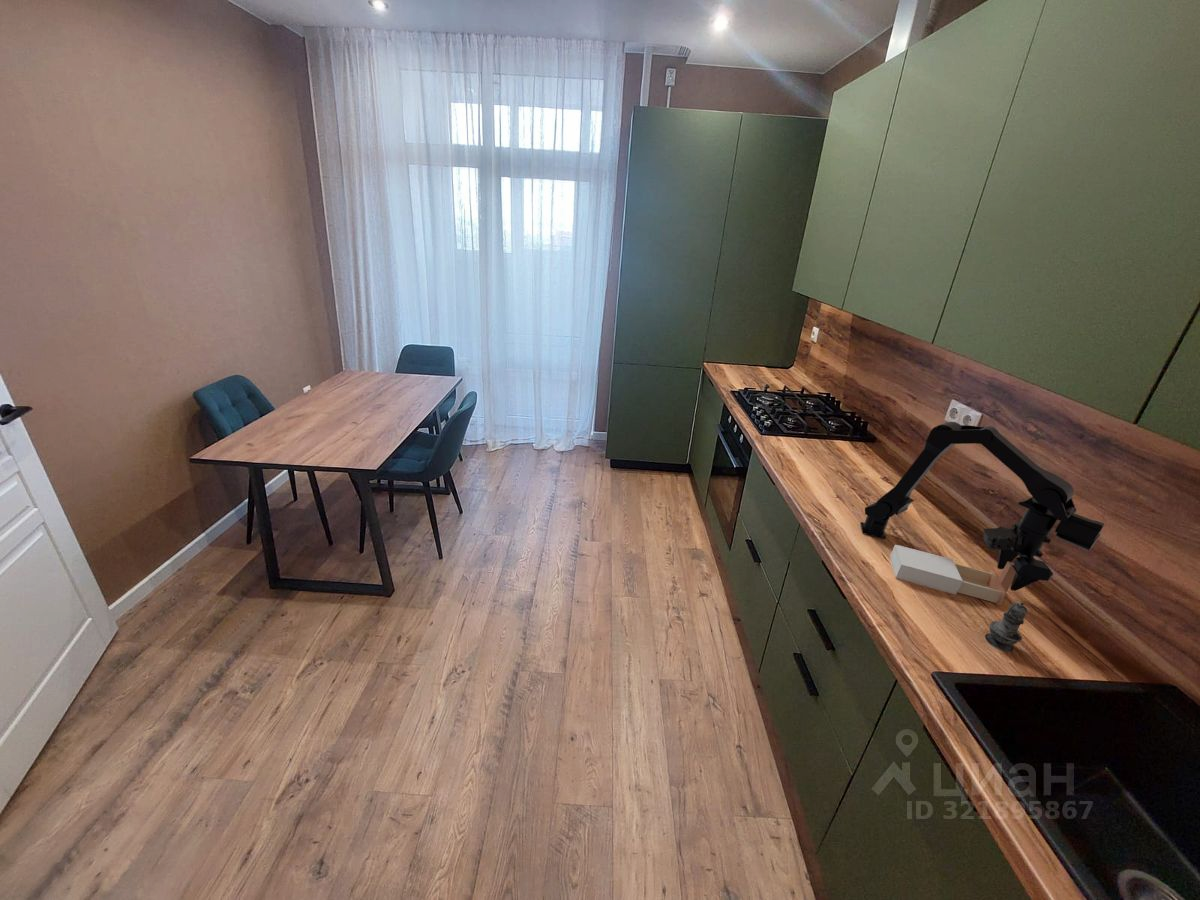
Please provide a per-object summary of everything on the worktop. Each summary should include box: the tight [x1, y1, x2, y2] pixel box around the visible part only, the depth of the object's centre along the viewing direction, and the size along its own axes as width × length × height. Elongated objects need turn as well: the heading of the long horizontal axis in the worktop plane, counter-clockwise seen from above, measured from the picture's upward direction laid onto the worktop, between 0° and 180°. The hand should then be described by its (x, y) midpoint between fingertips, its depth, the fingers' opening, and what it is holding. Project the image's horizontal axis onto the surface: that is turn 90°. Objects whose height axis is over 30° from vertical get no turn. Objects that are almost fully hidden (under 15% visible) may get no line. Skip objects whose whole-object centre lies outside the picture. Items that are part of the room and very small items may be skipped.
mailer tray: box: [954, 561, 1016, 606], centre depth 124 cm, size 10×16×10 cm, turn 69°
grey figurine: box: [984, 601, 1028, 653], centre depth 106 cm, size 6×6×12 cm
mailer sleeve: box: [889, 544, 963, 596], centre depth 129 cm, size 10×14×4 cm
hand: (1006, 578), depth 122 cm, fingers open, 9 cm apart
